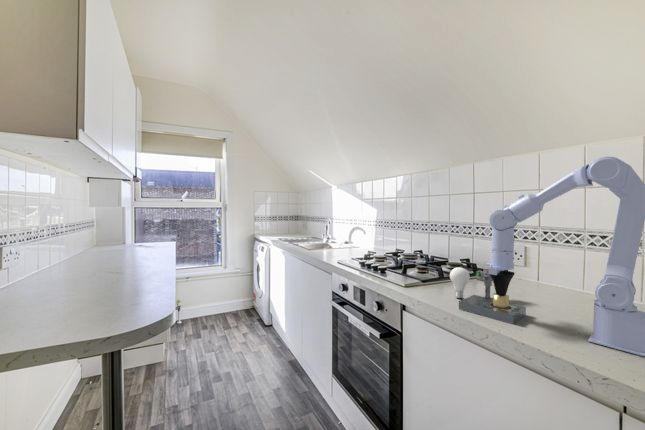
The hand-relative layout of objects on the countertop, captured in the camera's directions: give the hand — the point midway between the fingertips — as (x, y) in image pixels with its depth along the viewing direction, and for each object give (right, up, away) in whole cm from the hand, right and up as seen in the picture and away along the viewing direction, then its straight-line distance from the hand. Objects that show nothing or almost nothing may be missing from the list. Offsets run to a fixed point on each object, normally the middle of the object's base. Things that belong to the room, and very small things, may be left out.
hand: (500, 295), depth 87 cm
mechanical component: (+5, -6, +16) cm, 18 cm away
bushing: (0, -6, 0) cm, 6 cm away
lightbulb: (-5, -6, +15) cm, 17 cm away
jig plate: (-2, -6, +2) cm, 6 cm away
